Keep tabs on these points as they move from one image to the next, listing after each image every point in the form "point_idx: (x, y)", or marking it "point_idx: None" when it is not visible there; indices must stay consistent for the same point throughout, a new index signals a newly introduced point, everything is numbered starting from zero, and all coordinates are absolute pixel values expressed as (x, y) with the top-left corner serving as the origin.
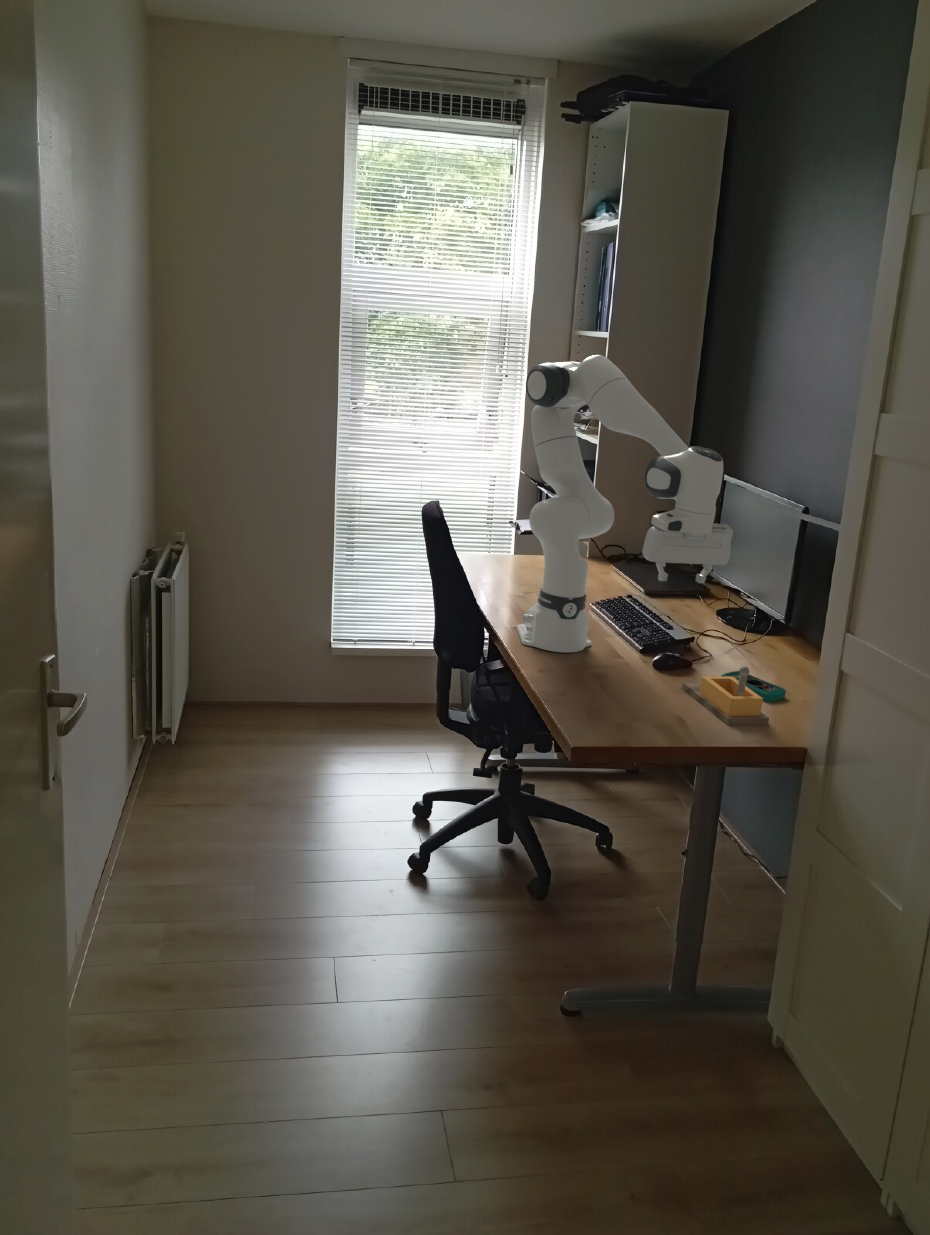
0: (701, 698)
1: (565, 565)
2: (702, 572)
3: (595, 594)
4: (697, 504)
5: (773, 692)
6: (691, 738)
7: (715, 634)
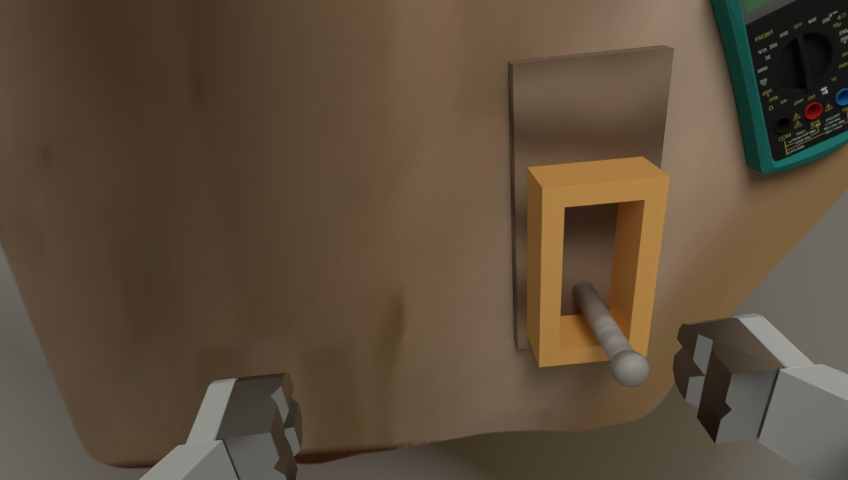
0: (514, 206)
1: None
2: (804, 412)
3: None
4: None
5: (797, 164)
6: (381, 413)
7: None
